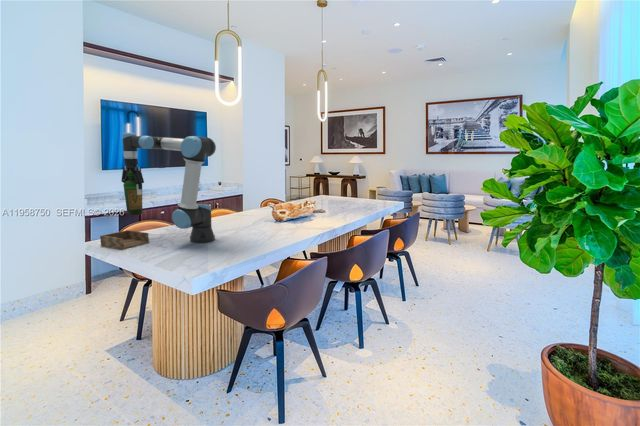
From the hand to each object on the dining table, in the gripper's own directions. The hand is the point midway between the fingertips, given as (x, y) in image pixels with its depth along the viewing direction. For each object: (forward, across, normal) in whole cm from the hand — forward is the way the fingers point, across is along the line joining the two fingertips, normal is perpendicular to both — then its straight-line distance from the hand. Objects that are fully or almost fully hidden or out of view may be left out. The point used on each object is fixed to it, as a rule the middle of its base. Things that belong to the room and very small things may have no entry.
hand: (133, 194), depth 228 cm
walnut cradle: (+29, -7, +13) cm, 32 cm away
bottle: (+13, 0, 0) cm, 13 cm away
